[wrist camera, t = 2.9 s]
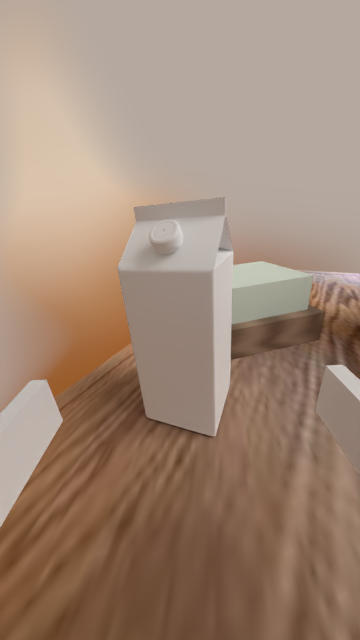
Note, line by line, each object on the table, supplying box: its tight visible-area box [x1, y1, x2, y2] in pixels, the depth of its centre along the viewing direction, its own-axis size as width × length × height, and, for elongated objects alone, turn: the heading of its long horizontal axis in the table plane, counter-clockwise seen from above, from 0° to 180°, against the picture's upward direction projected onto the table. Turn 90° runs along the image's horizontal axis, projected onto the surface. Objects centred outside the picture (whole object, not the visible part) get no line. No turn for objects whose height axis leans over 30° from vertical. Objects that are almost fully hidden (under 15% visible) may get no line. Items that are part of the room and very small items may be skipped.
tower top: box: [232, 261, 314, 324], centre depth 35 cm, size 12×12×5 cm
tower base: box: [231, 305, 325, 360], centre depth 37 cm, size 15×15×5 cm
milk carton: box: [118, 197, 233, 437], centre depth 20 cm, size 7×7×19 cm
